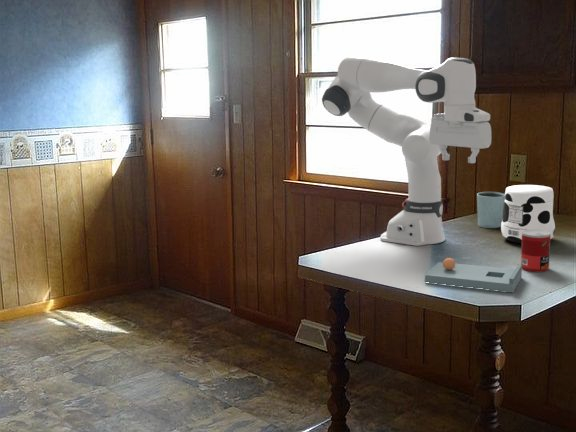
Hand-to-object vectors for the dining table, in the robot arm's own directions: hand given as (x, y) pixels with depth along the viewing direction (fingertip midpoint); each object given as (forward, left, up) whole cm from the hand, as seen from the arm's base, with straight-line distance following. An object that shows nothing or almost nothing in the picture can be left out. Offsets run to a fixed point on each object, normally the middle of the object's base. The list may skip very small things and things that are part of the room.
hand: (458, 161), depth 203 cm
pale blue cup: (-1, +55, -32) cm, 64 cm away
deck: (+8, -13, -32) cm, 35 cm away
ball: (+1, -13, -28) cm, 31 cm away
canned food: (+22, +5, -32) cm, 39 cm away
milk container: (+15, +37, -32) cm, 51 cm away
